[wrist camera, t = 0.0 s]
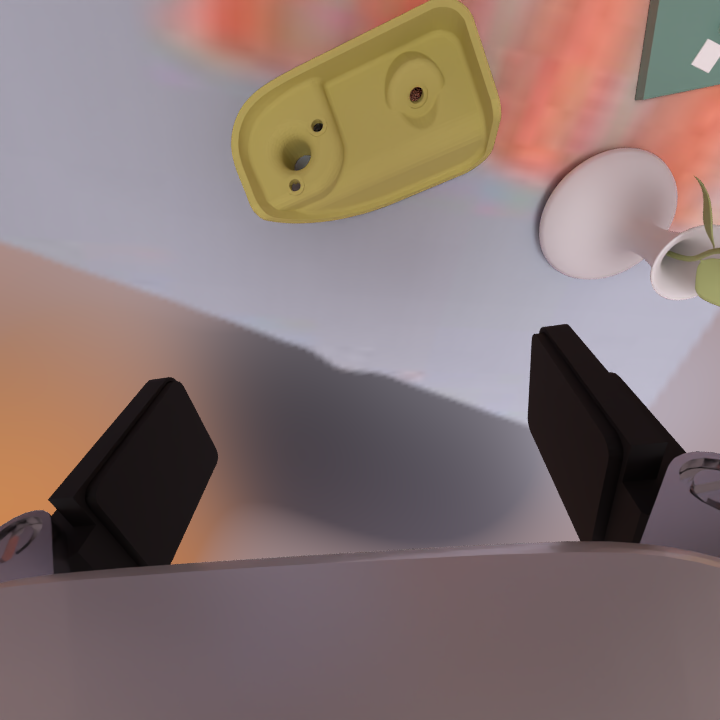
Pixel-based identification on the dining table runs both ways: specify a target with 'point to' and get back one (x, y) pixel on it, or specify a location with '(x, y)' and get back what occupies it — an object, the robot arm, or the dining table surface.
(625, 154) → the flower in vase
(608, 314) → the dining table surface
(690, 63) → the board
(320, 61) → the plastic component
